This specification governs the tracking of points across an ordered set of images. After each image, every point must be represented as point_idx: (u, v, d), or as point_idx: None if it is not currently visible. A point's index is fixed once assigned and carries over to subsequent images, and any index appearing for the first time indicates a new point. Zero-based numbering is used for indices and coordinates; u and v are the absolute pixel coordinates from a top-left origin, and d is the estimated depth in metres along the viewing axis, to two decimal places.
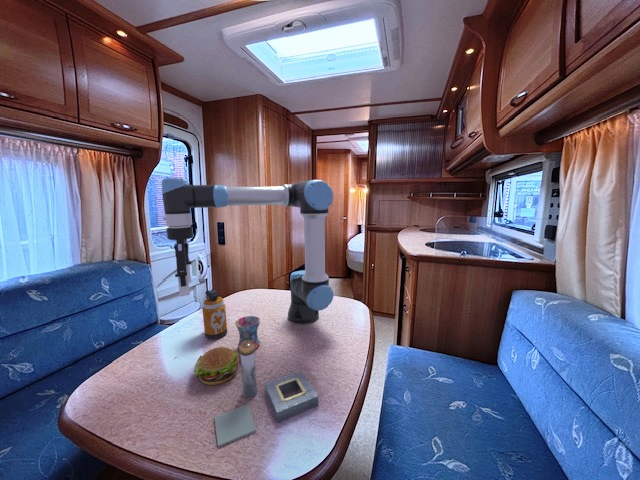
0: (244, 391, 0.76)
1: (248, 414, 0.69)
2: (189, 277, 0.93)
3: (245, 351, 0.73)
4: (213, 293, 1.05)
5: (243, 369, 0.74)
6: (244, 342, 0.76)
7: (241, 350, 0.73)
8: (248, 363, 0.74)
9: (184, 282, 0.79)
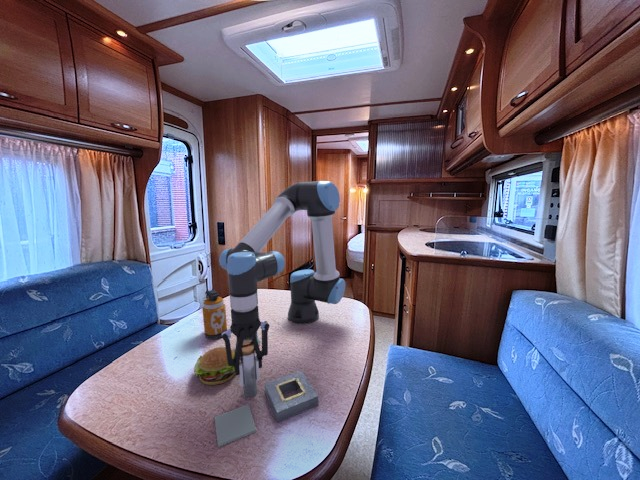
0: (244, 391, 0.76)
1: (248, 414, 0.69)
2: (256, 374, 0.76)
3: (245, 351, 0.73)
4: (213, 293, 1.05)
5: (243, 369, 0.74)
6: (244, 342, 0.75)
7: (241, 350, 0.73)
8: (248, 363, 0.74)
9: (235, 371, 0.74)
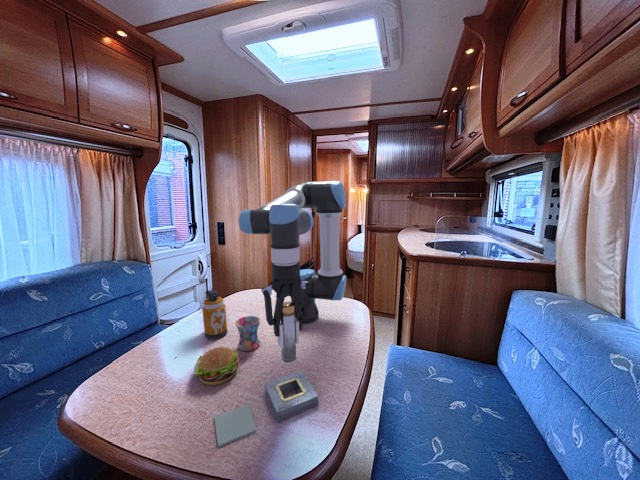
0: (283, 356, 0.71)
1: (248, 414, 0.69)
2: (296, 336, 0.72)
3: (286, 311, 0.68)
4: (213, 293, 1.05)
5: (283, 331, 0.69)
6: (284, 303, 0.71)
7: (282, 310, 0.68)
8: (289, 325, 0.69)
9: (275, 332, 0.69)
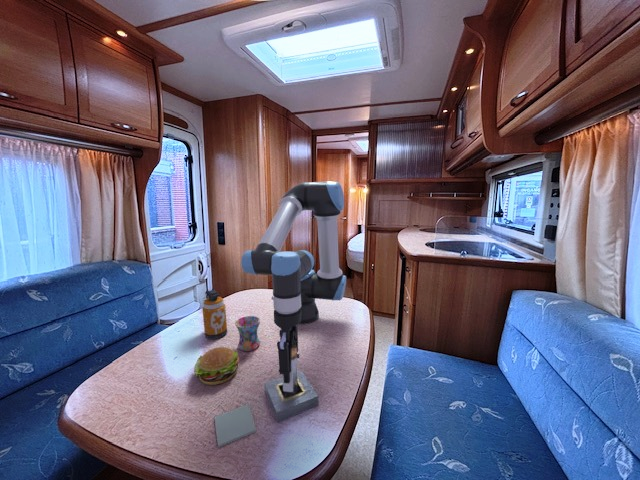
0: None
1: (248, 414, 0.69)
2: None
3: (295, 353, 0.71)
4: (213, 293, 1.05)
5: None
6: None
7: None
8: (296, 365, 0.72)
9: (287, 379, 0.70)
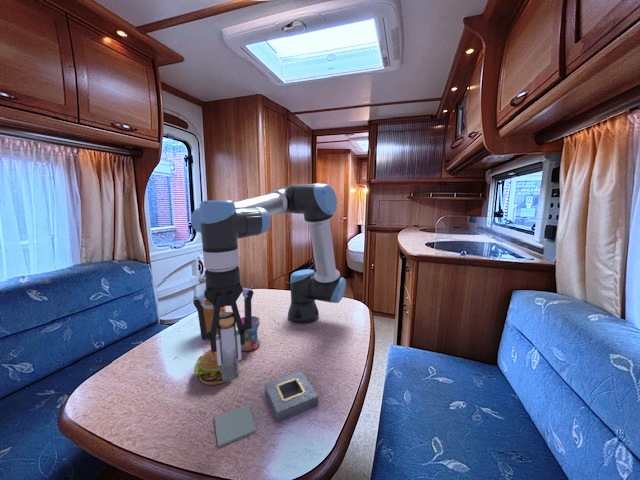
0: (223, 373, 0.62)
1: (248, 414, 0.69)
2: (237, 351, 0.63)
3: (223, 324, 0.59)
4: None
5: (221, 346, 0.61)
6: (223, 314, 0.62)
7: (218, 322, 0.60)
8: (227, 339, 0.60)
9: None
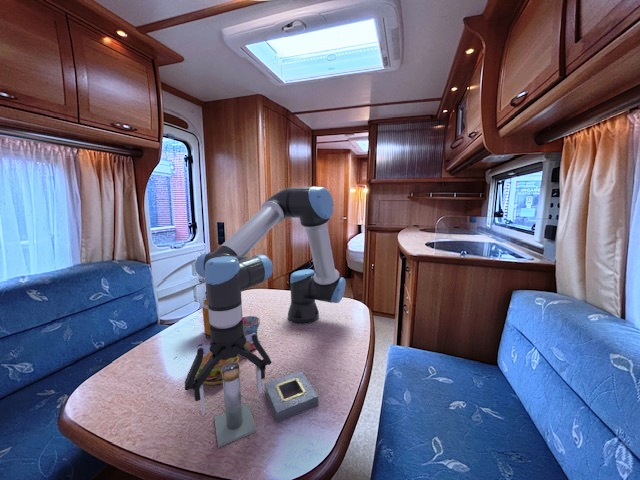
0: (227, 422, 0.64)
1: (248, 414, 0.69)
2: (258, 386, 0.67)
3: (228, 376, 0.62)
4: None
5: (225, 397, 0.63)
6: (227, 365, 0.64)
7: (223, 375, 0.62)
8: (231, 390, 0.63)
9: None
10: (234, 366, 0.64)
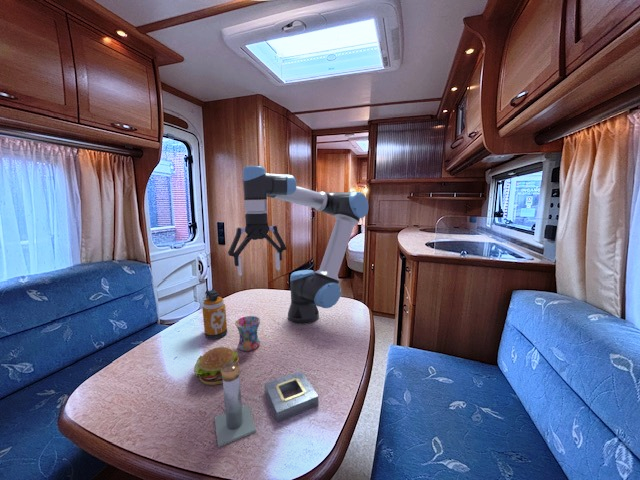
0: (227, 422, 0.64)
1: (248, 414, 0.69)
2: (277, 264, 0.94)
3: (228, 376, 0.62)
4: (213, 293, 1.05)
5: (225, 397, 0.63)
6: (227, 365, 0.64)
7: (223, 375, 0.62)
8: (231, 390, 0.63)
9: None
10: (234, 366, 0.64)
